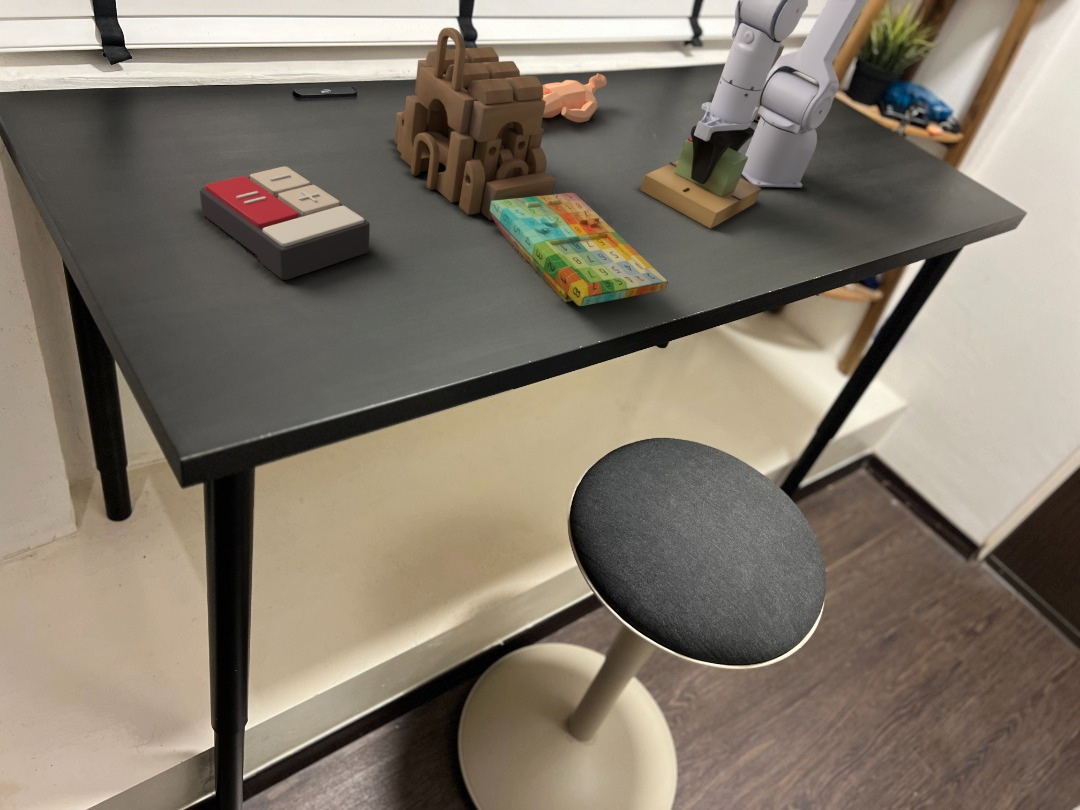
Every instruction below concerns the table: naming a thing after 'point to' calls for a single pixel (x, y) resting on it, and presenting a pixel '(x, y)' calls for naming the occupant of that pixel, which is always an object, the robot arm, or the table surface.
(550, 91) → the male figurine
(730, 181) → the box
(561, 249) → the puzzle game
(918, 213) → the table surface
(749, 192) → the tan flat block
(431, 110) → the wooden puzzle
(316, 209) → the calculator
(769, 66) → the robot arm
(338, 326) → the table surface
